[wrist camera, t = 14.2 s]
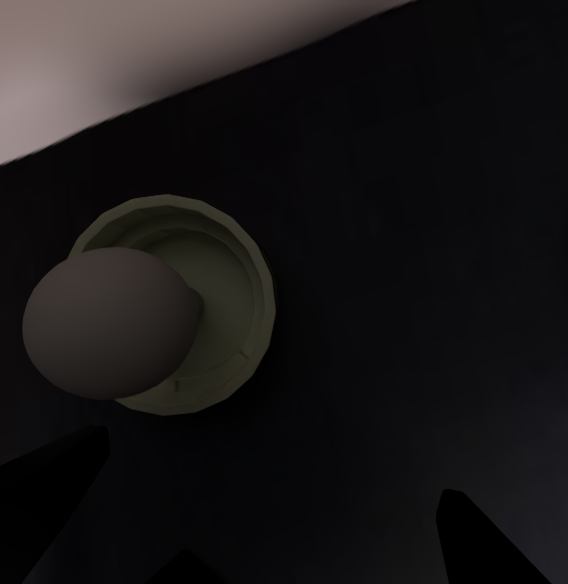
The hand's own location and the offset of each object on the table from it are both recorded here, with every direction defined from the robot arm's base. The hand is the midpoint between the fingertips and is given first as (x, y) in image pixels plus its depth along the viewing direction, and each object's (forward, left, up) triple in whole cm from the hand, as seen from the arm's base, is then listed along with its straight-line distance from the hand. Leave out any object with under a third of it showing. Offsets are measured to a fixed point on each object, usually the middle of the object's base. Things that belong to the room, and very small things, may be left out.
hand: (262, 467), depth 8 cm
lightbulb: (-3, +7, -13) cm, 14 cm away
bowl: (-2, +7, -13) cm, 15 cm away
